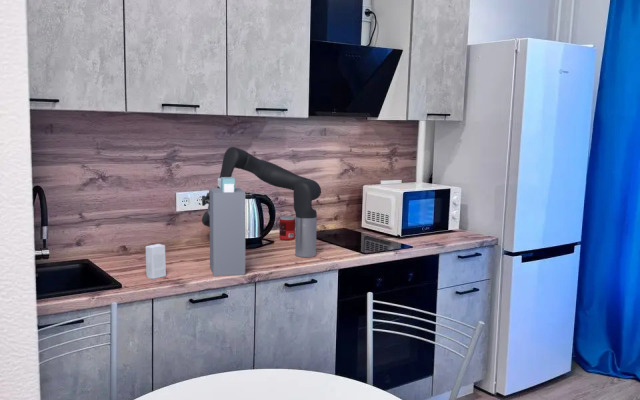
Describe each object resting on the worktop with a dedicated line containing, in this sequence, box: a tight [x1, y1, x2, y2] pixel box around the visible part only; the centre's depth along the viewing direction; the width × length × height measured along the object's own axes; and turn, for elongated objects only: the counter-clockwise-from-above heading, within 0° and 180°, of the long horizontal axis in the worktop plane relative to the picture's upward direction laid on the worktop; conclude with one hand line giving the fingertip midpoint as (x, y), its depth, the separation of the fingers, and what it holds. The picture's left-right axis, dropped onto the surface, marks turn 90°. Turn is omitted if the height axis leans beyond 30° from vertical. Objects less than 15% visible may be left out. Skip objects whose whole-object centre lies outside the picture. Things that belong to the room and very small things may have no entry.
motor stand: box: [209, 187, 246, 277], centre depth 234 cm, size 14×12×32 cm
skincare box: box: [145, 243, 167, 280], centre depth 225 cm, size 6×4×12 cm
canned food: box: [278, 215, 296, 242], centre depth 299 cm, size 8×8×11 cm
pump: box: [217, 176, 236, 192], centre depth 236 cm, size 22×5×5 cm, turn 16°
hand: (220, 193), depth 254 cm, fingers open, 8 cm apart
